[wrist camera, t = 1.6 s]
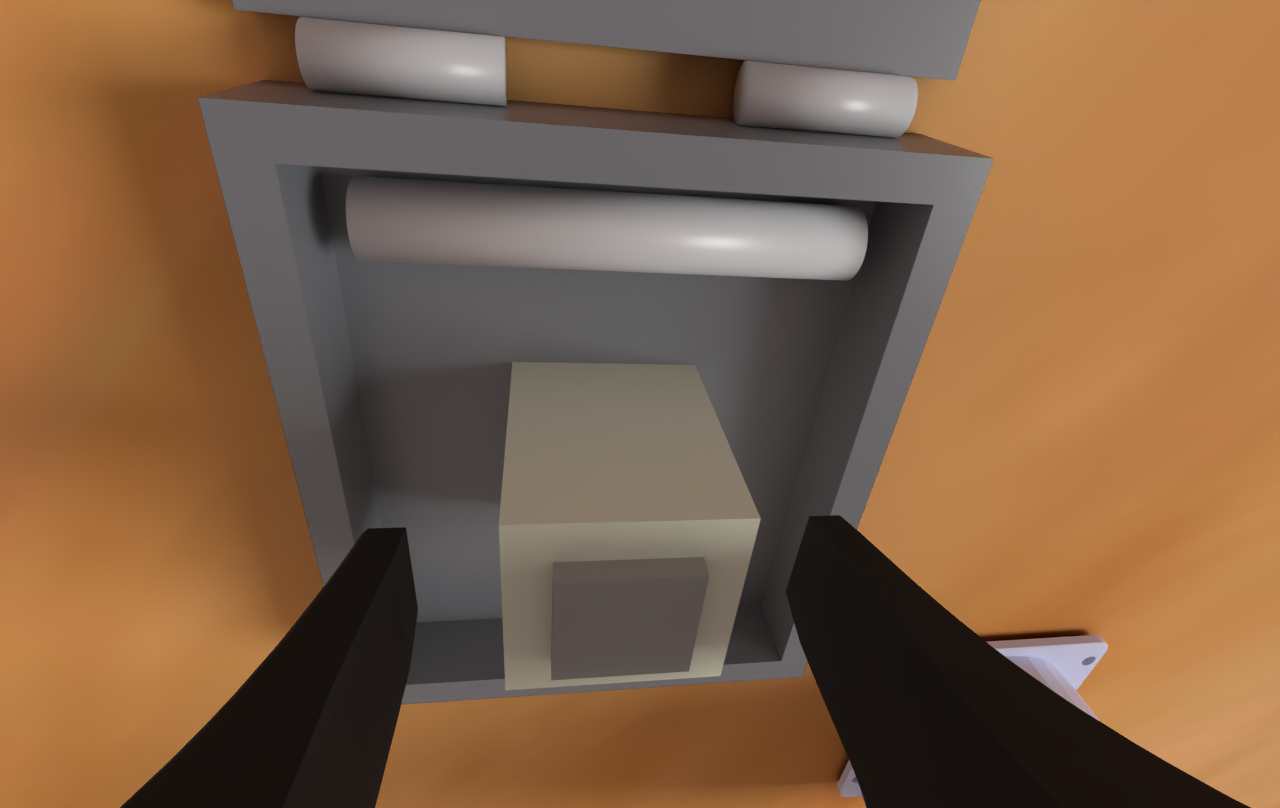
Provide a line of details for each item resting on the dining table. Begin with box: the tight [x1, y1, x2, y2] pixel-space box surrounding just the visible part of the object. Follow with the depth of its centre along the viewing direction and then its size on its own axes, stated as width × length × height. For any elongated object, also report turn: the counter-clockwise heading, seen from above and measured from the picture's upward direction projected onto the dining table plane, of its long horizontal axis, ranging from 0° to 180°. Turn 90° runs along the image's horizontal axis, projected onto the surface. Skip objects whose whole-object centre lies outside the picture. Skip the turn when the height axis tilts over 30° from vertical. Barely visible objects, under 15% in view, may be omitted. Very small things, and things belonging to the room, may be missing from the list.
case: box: [198, 80, 994, 705], centre depth 14 cm, size 14×12×2 cm
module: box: [499, 362, 761, 690], centre depth 12 cm, size 4×4×5 cm
